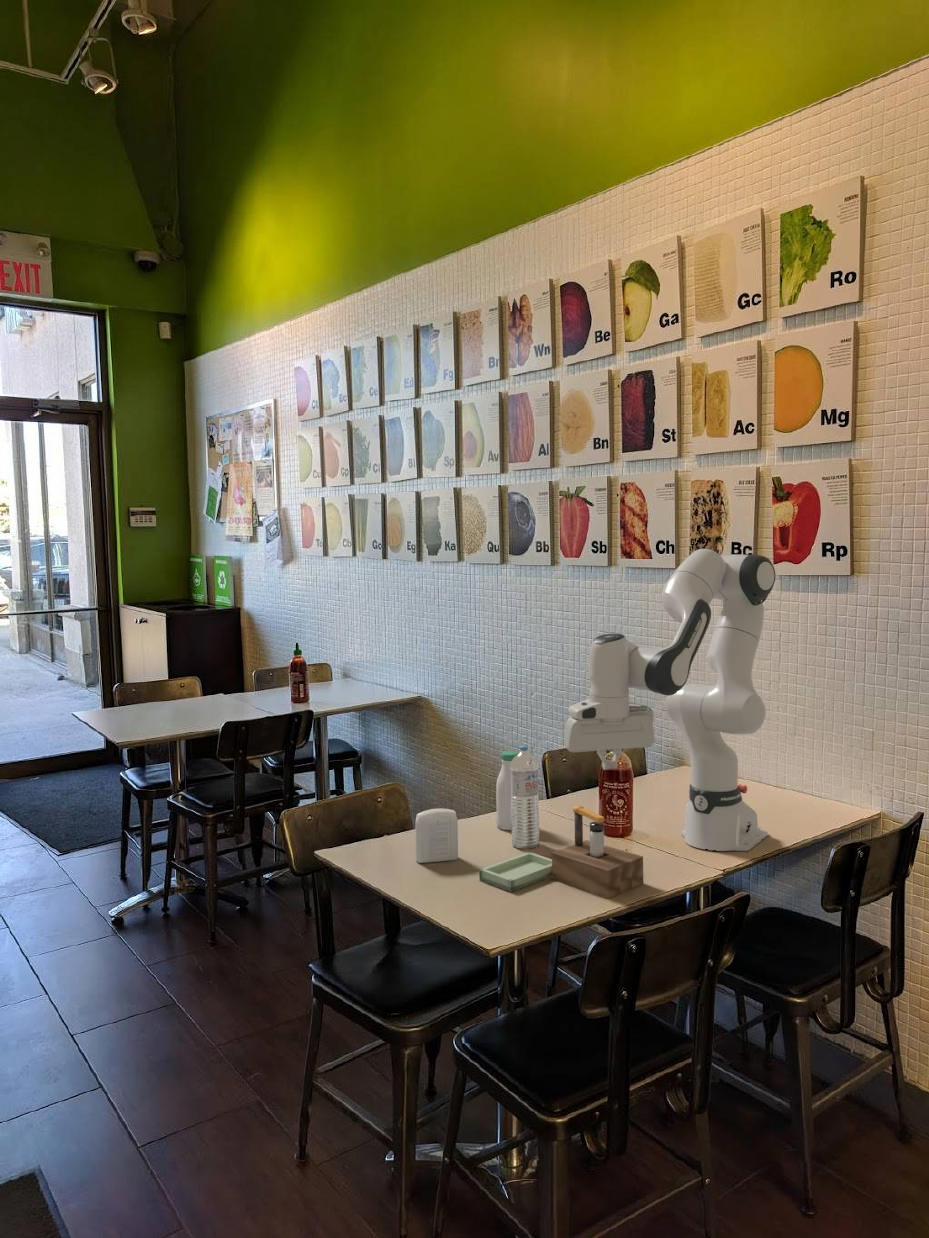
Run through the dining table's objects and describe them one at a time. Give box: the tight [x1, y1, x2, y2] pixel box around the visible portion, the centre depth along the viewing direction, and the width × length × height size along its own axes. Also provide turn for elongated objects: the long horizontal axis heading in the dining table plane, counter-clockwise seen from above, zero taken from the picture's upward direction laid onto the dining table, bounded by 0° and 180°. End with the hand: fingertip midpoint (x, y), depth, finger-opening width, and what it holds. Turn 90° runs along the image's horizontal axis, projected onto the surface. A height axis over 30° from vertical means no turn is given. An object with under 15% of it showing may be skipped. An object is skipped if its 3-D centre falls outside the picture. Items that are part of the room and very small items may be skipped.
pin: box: [589, 821, 605, 859], centre depth 202 cm, size 3×3×13 cm
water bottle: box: [510, 745, 540, 850], centre depth 226 cm, size 7×7×25 cm
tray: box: [478, 851, 552, 893], centre depth 206 cm, size 16×10×2 cm, turn 132°
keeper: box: [572, 805, 605, 823], centre depth 204 cm, size 10×2×1 cm, turn 26°
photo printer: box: [414, 808, 459, 864], centre depth 218 cm, size 10×4×12 cm, turn 104°
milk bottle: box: [495, 750, 519, 832], centre depth 241 cm, size 8×8×20 cm
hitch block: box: [551, 812, 644, 899], centre depth 202 cm, size 12×16×14 cm
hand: (609, 768), depth 203 cm, fingers closed
